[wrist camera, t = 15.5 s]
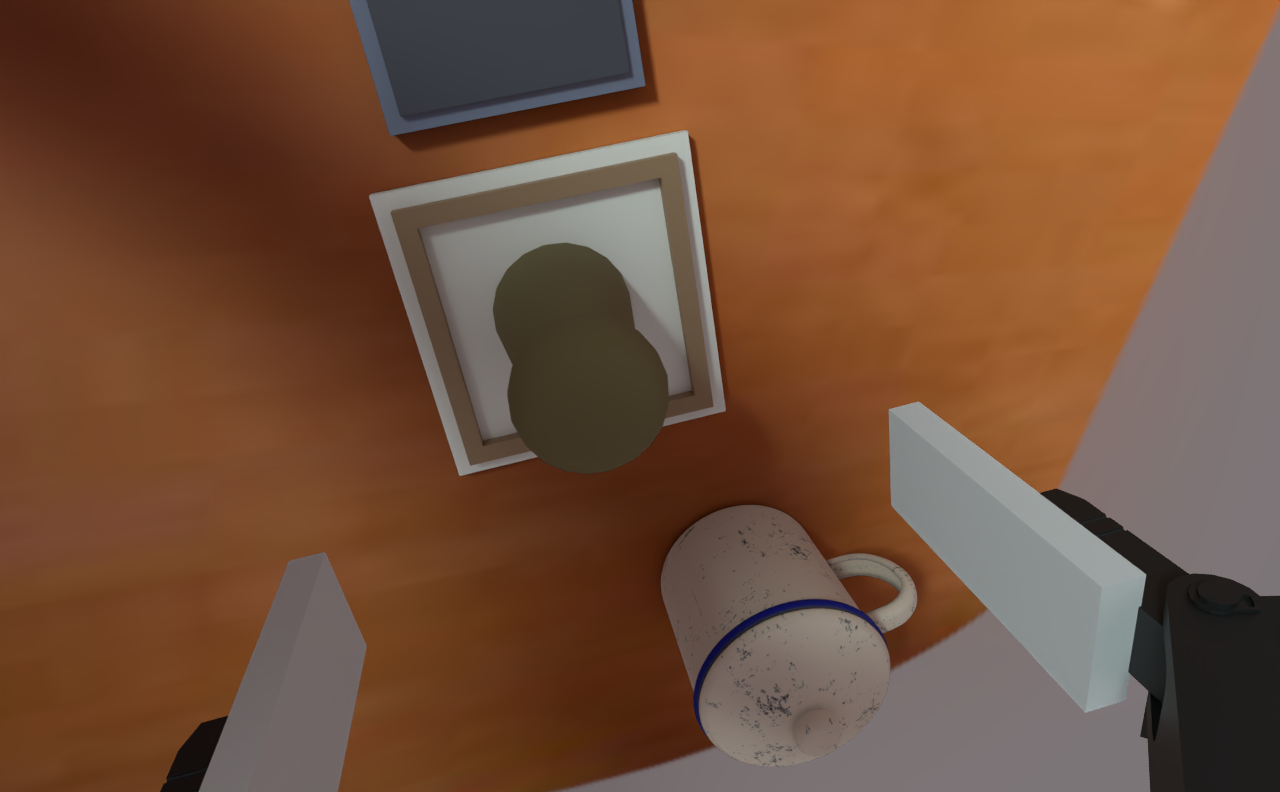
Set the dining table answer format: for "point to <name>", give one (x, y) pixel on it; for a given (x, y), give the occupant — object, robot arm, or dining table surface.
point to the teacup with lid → (778, 635)
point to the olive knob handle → (577, 360)
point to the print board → (524, 220)
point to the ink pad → (493, 55)
